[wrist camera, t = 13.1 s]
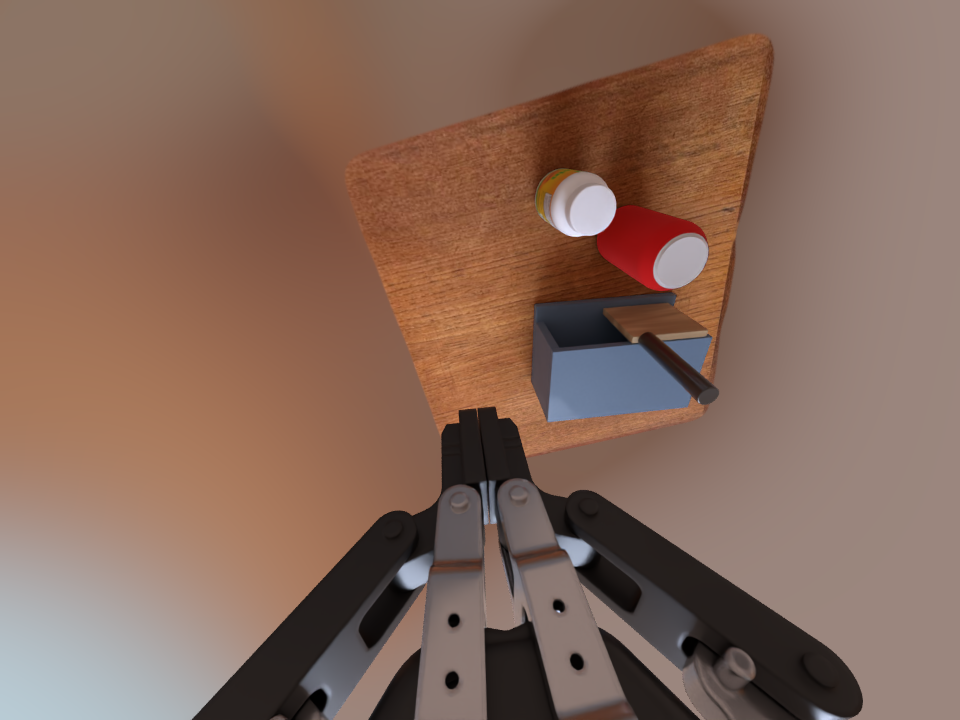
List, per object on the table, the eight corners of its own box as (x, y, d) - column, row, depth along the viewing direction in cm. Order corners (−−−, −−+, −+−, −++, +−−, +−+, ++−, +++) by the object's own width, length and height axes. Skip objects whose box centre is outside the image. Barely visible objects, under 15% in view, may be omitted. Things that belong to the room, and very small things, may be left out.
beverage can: (656, 221, 39) (733, 247, 29) (620, 268, 42) (679, 308, 32) (617, 192, 37) (685, 209, 27) (582, 244, 40) (631, 278, 29)
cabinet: (534, 303, 43) (554, 335, 36) (672, 292, 44) (718, 320, 37) (531, 381, 49) (547, 422, 42) (651, 369, 50) (687, 407, 43)
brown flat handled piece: (604, 304, 42) (694, 389, 28) (668, 298, 43) (792, 379, 28) (601, 317, 43) (688, 406, 28) (665, 312, 44) (782, 396, 29)
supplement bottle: (583, 163, 35) (628, 168, 27) (583, 218, 38) (622, 238, 30) (532, 172, 35) (560, 180, 27) (535, 227, 38) (562, 249, 30)
